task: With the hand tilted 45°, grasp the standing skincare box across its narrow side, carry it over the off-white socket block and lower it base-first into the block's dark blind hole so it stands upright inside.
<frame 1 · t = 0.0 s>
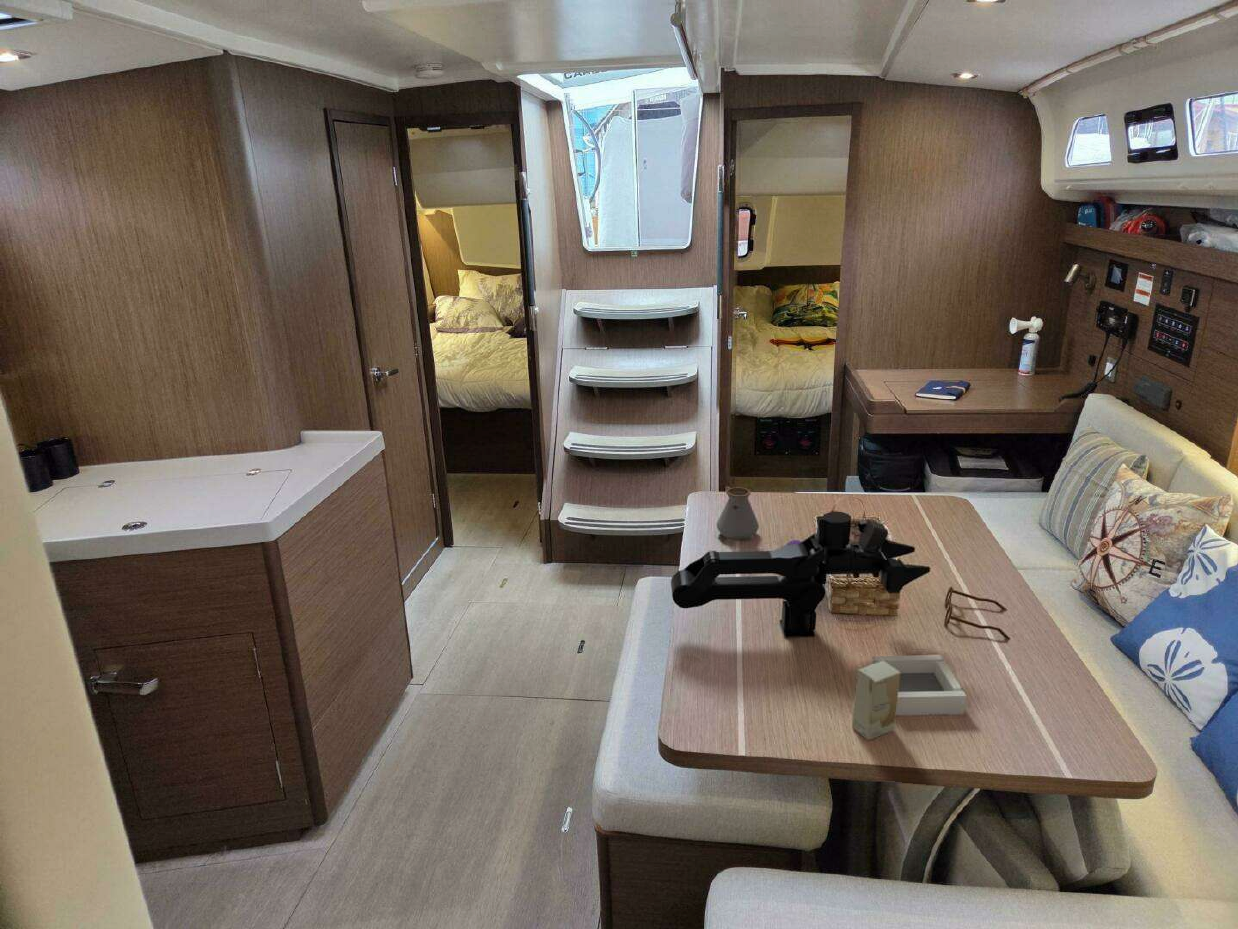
hand: (921, 559, 168), 17 cm above the table, tool horizontal, fingers open, 9 cm apart
skincare box: (873, 729, 143), on the table
grey conical vessel: (736, 543, 216), on the table
socket block: (915, 693, 153), on the table
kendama: (796, 576, 198), on the table
glasses: (975, 621, 177), on the table
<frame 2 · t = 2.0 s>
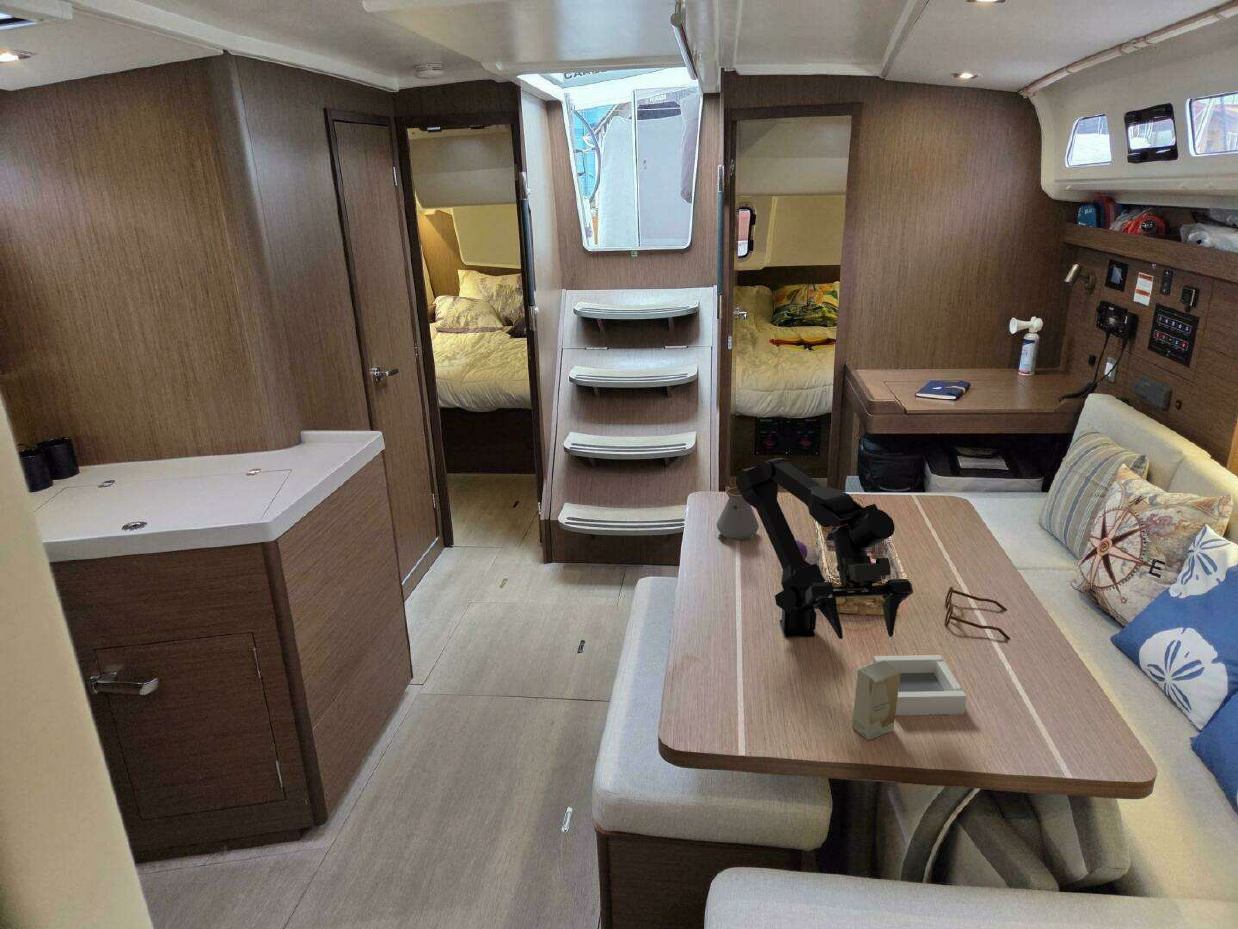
hand: (866, 637, 146), 14 cm above the table, tool tilted 45°, fingers open, 9 cm apart
nothing on the table moved.
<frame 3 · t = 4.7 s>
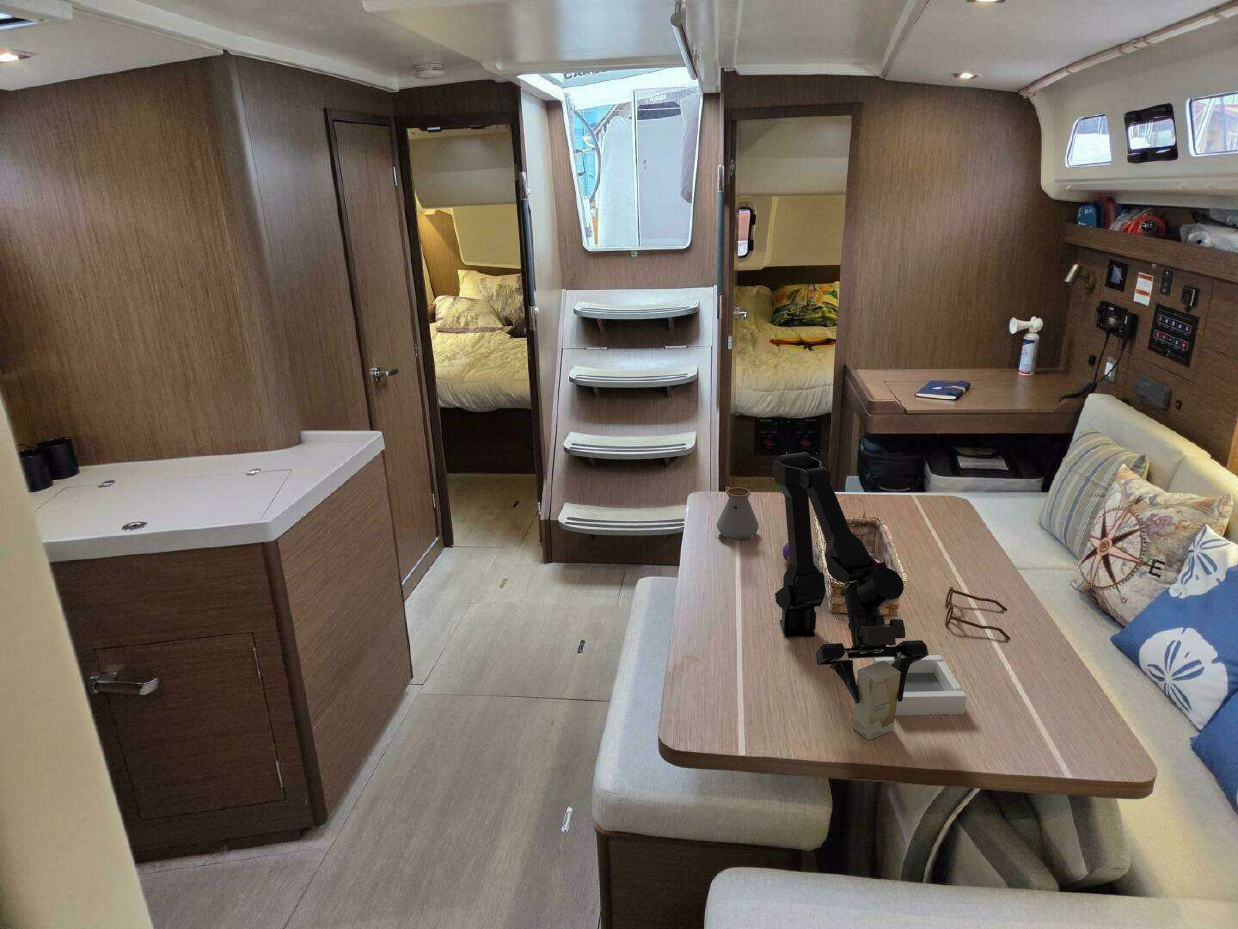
hand: (879, 702, 140), 7 cm above the table, tool tilted 45°, fingers closed on skincare box, 7 cm apart
skincare box: (873, 729, 143), on the table, touching gripper
everything else where it was.
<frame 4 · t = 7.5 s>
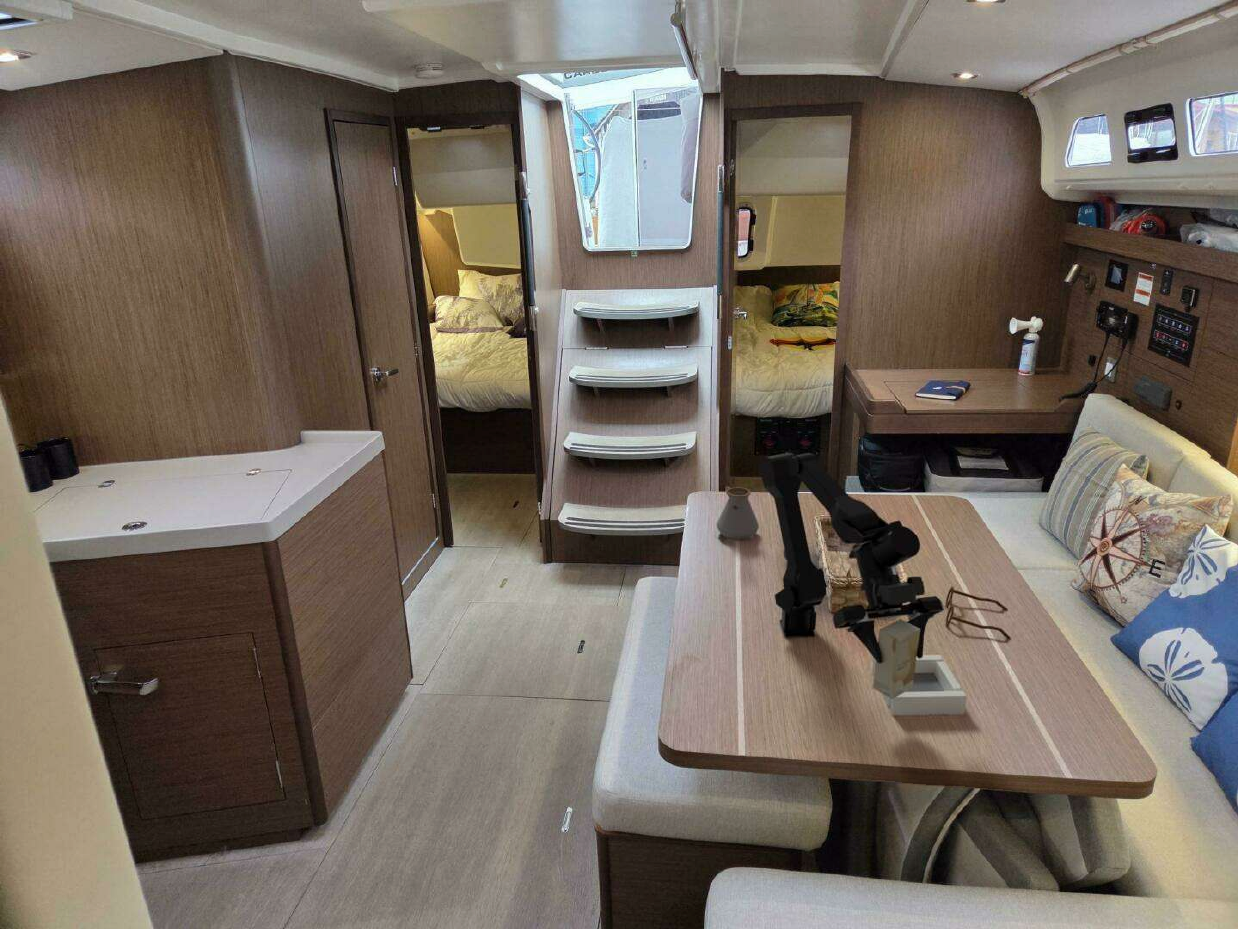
hand: (900, 660, 140), 13 cm above the table, tool tilted 45°, fingers closed on skincare box, 7 cm apart
skincare box: (892, 688, 144), point 6 cm above the table, touching gripper
everything else where it was.
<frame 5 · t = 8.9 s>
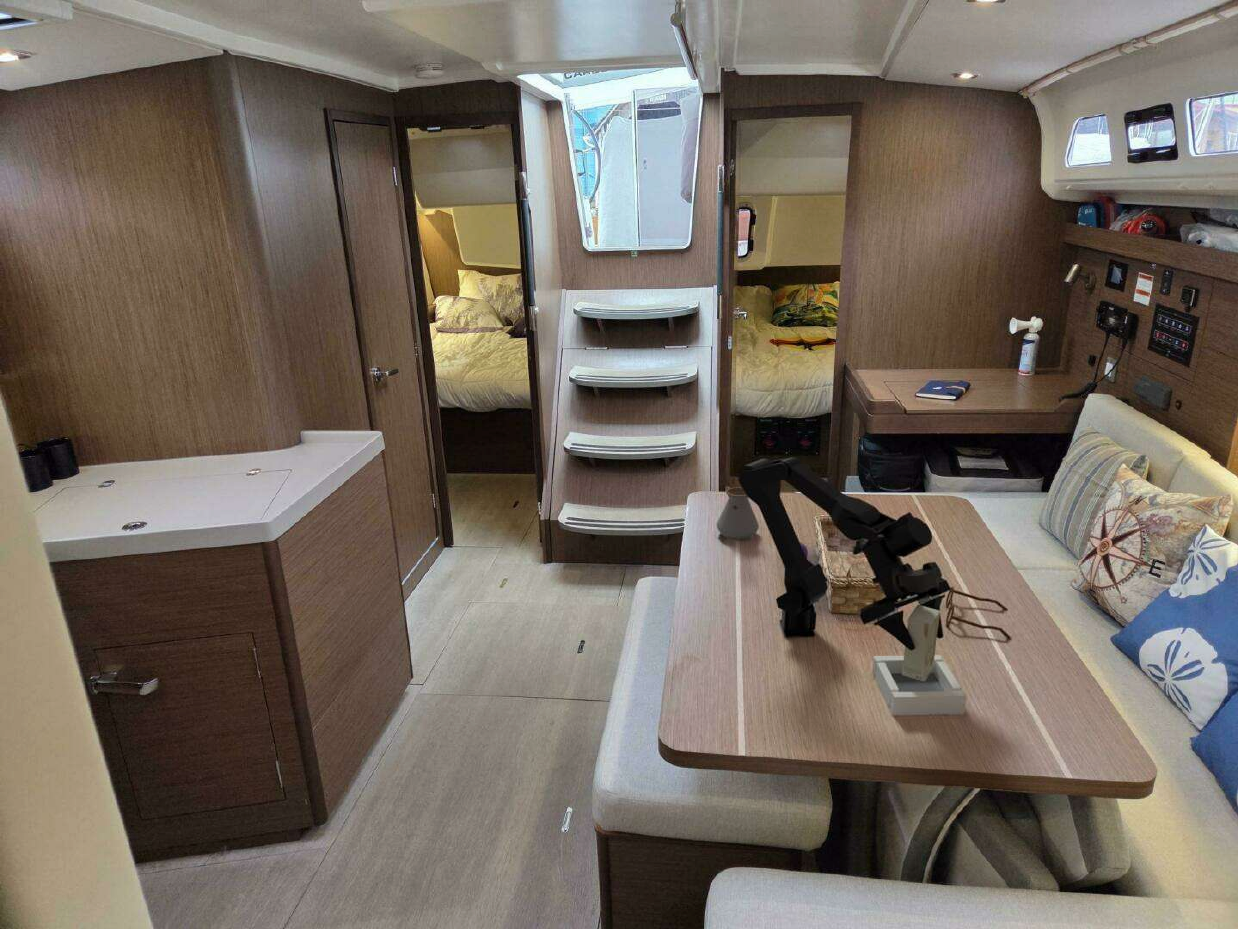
hand: (927, 643, 148), 12 cm above the table, tool tilted 45°, fingers closed on skincare box, 7 cm apart
skincare box: (917, 671, 151), point 5 cm above the table, touching gripper
everything else where it was.
when the fingers open (8 cm above the table, at t = 10.1 s): skincare box stays where it is, resting on socket block.
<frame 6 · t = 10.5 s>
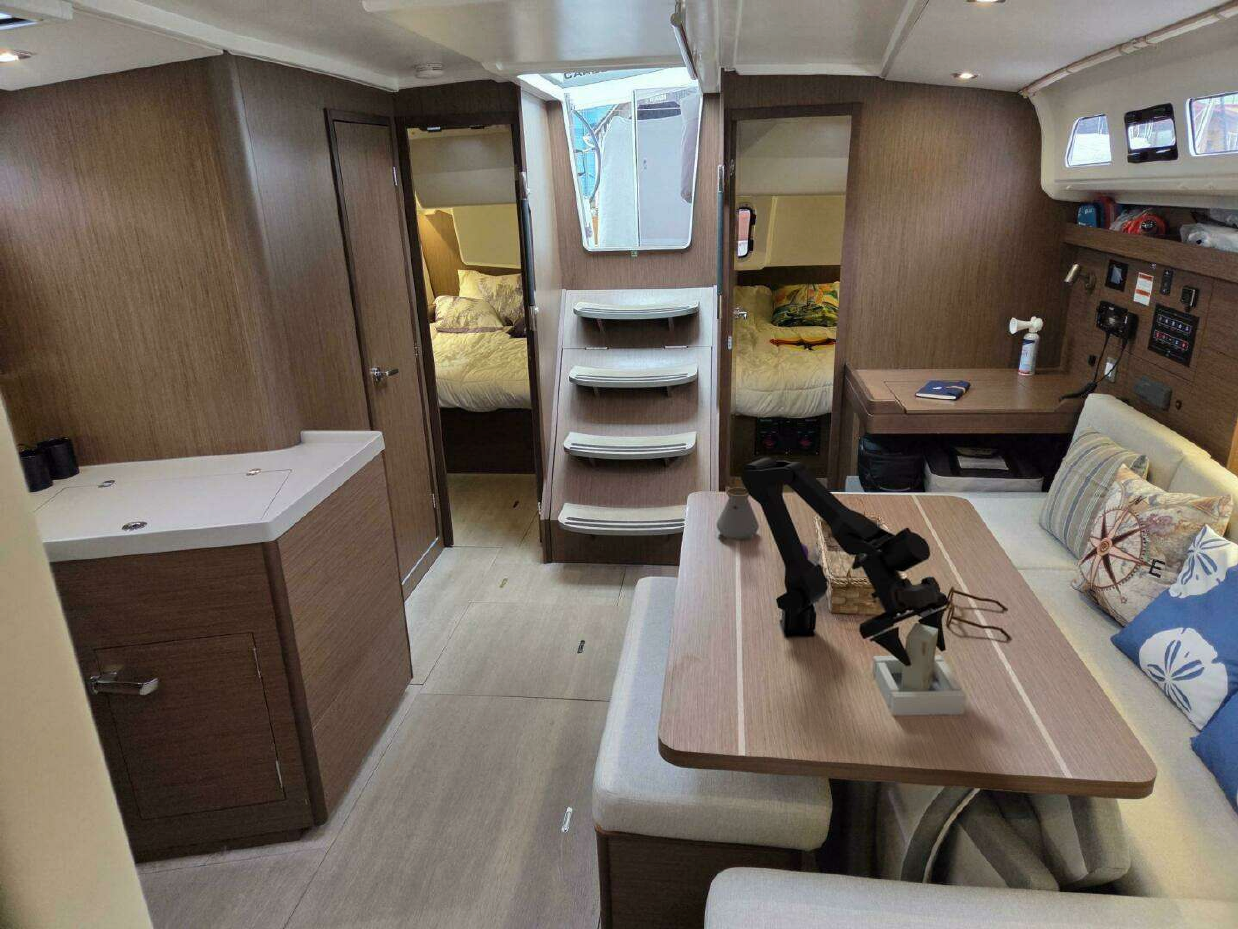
hand: (926, 658, 148), 9 cm above the table, tool tilted 45°, fingers open, 9 cm apart
skincare box: (915, 689, 152), point 1 cm above the table, touching socket block
everything else where it was.
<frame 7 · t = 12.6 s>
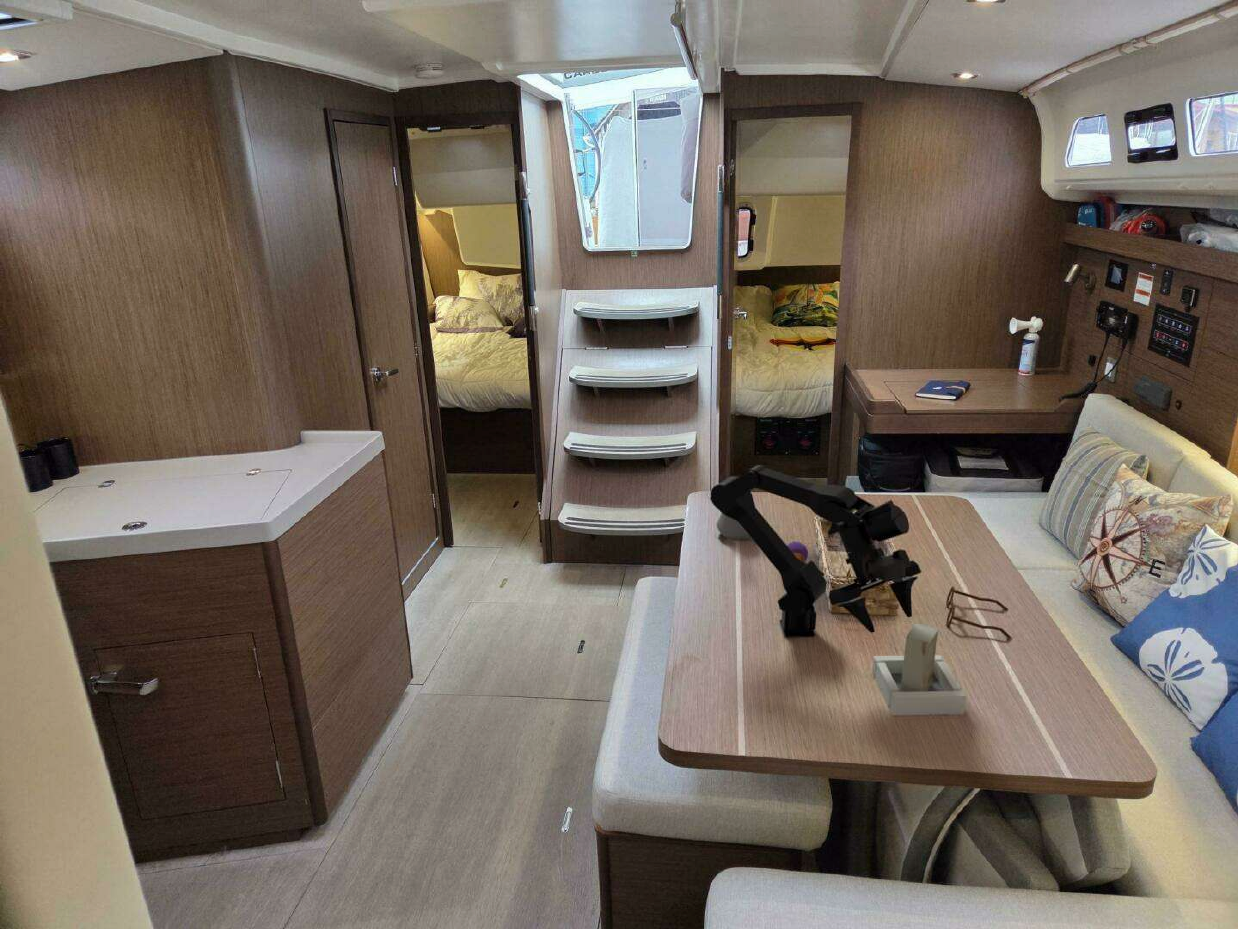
hand: (891, 624, 156), 11 cm above the table, tool tilted 35°, fingers open, 9 cm apart
nothing on the table moved.
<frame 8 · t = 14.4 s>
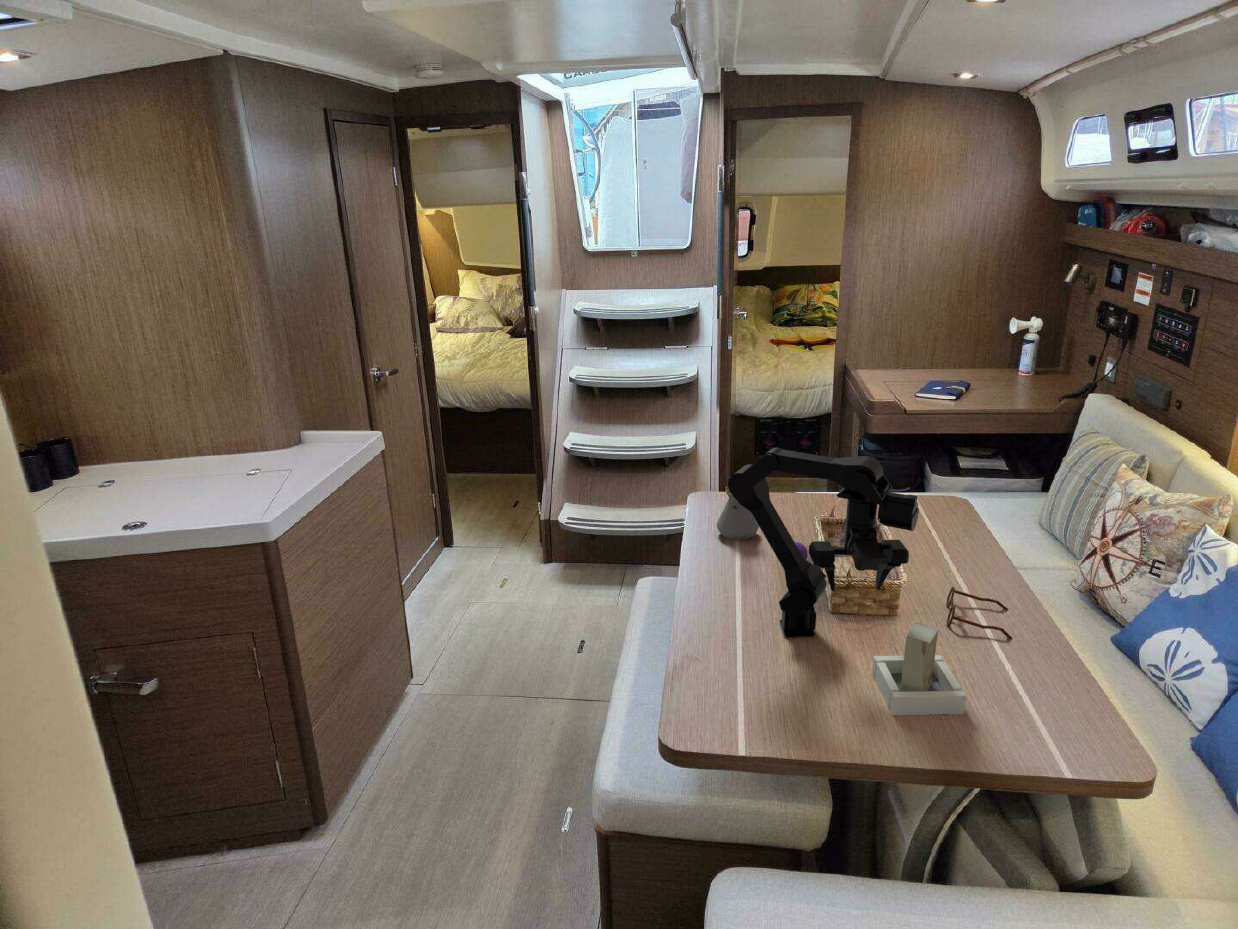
hand: (854, 589, 164), 13 cm above the table, tool pointing down, fingers open, 9 cm apart
nothing on the table moved.
at the end: skincare box 0.2 cm off-centre on the socket block, point 0.8 cm above the socket block's base; skincare box tilted 0°; the gripper is holding nothing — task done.
